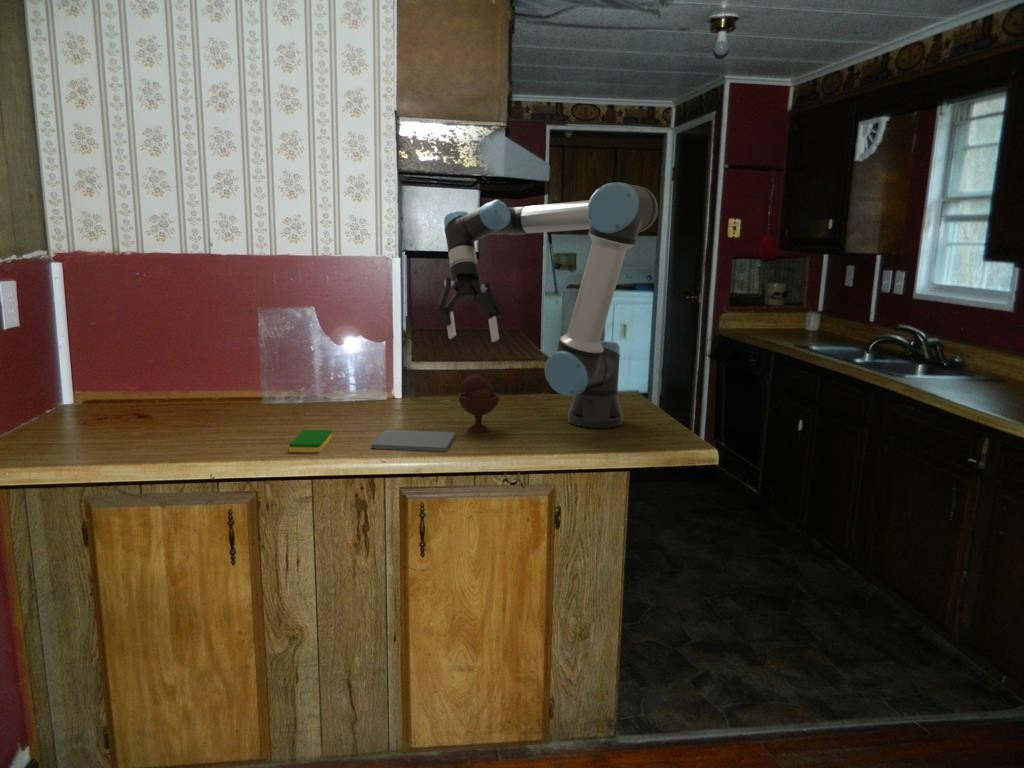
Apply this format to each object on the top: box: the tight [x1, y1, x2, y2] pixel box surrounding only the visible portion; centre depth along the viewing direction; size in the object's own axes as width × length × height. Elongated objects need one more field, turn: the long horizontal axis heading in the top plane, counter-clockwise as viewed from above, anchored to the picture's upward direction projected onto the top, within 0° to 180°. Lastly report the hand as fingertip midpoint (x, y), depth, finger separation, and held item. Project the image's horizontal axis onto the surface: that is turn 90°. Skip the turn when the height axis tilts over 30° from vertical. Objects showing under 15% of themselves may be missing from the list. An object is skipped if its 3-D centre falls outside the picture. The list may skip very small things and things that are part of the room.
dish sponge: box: [288, 429, 333, 453], centre depth 180 cm, size 7×14×2 cm, turn 1°
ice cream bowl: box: [457, 374, 500, 434], centre depth 195 cm, size 11×11×15 cm
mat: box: [370, 429, 456, 453], centre depth 184 cm, size 18×14×1 cm
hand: (474, 338), depth 198 cm, fingers open, 13 cm apart
